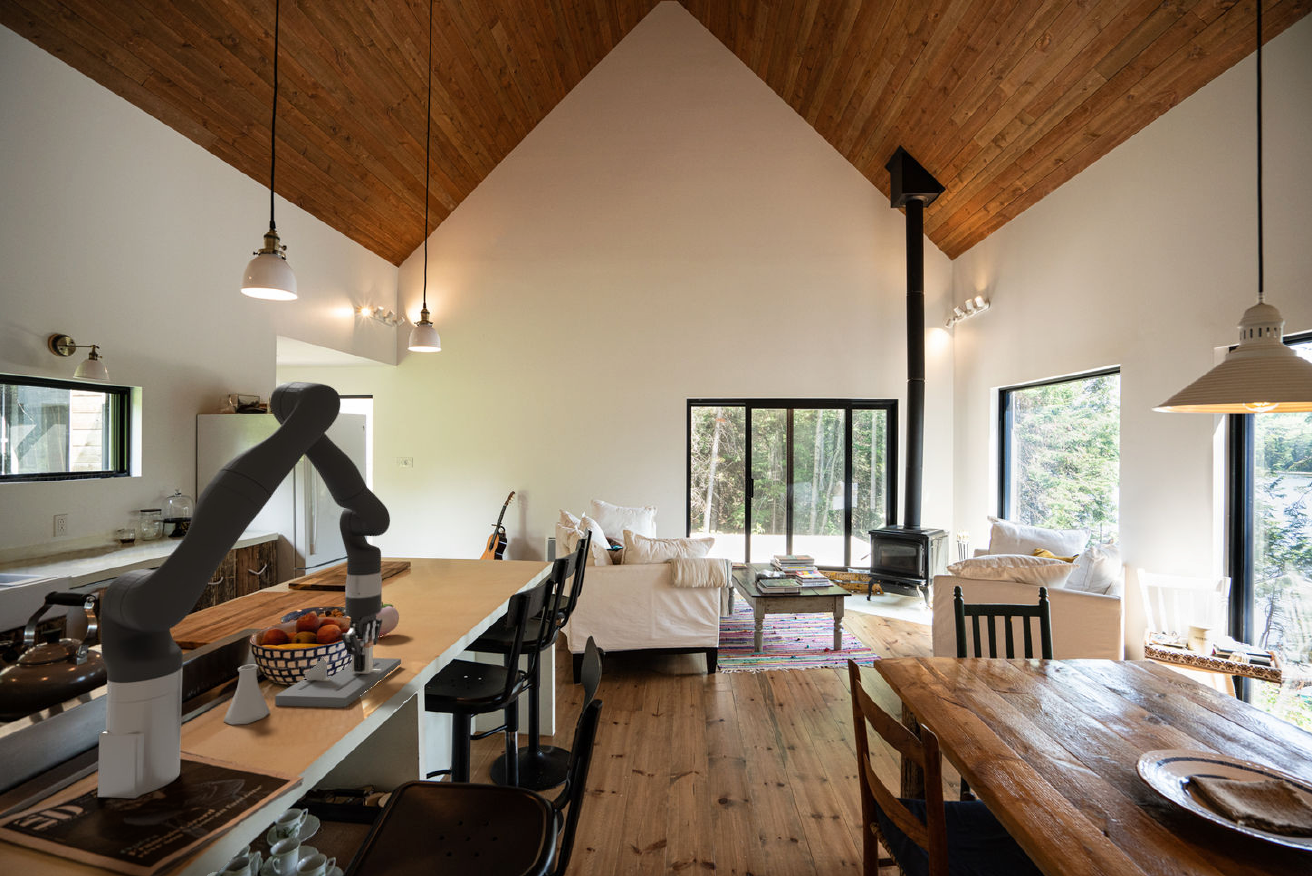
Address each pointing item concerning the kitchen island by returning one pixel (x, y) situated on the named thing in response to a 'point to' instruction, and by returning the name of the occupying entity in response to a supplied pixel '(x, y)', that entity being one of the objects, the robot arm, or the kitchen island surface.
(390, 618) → the decorative fruit
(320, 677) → the fader
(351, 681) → the gray slotted board
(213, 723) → the kitchen island surface
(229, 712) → the flask
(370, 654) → the fader
